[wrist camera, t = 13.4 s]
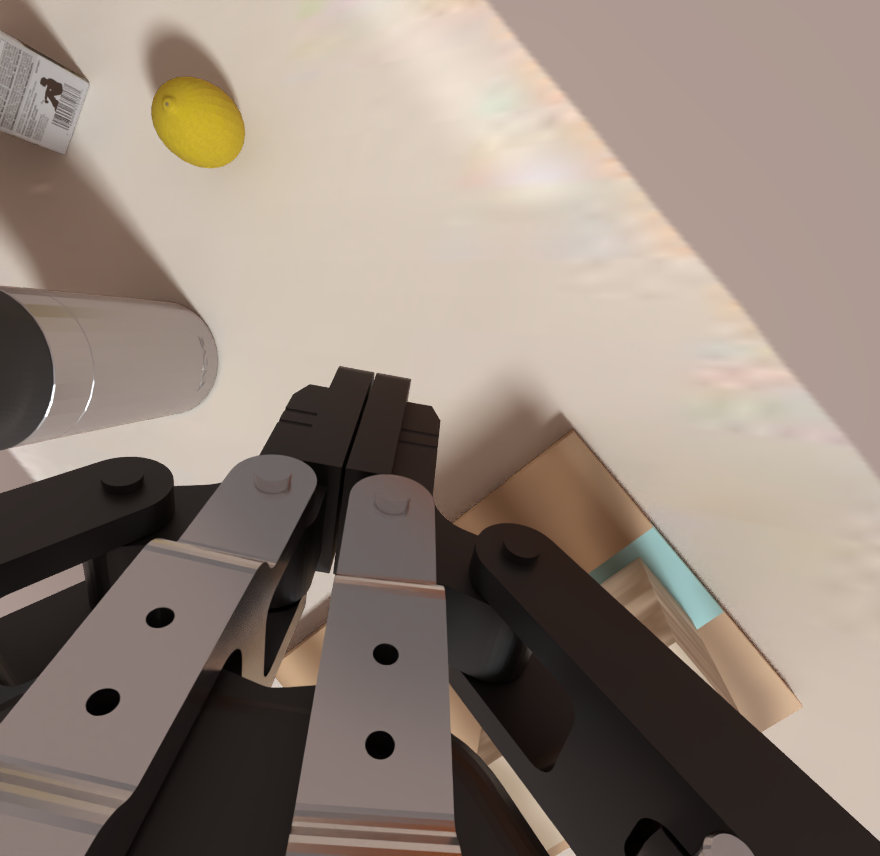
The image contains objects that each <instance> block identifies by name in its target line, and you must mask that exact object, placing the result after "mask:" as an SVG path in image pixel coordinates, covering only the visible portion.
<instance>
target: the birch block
mask: <svg viewBox="0 0 880 856" xmlns="http://www.w3.org/2000/svg"><path fill="white" fill-rule="evenodd" d="M600 585H601V586H602V587H603V588H604V589H605V590H606V591H607V592H609V593H610V594H611V595H612V596H613V597H614V598H615V599H616V600H617V601H618V602H619V603H621V604H622V605H623V606H624V607H625V608H626V609H627V610H628V611H629V612H630V613H631V614H633V615H634V616H635V617H636V618H637V619H638V620H639V621H640V622H641V623H642V624H643V625H645V626H646V627H647V628H648V629H649V630H650V631H651V632H652V633H653V634H654V635H655V636H656V637H658V638H659V639H660V640H661V641H662V642H663V643H664V644H665V645H666V646H667V647H668V648H670V649H671V650H672V651H673V652H674V653H675V654H676V655H677V656H678V657H679V658H680V659H682V660H683V661H684V662H685V663H686V664H687V665H688V666H689V667H690V668H691V669H692V670H694V671H695V672H696V673H697V674H698V675H699V676H700V677H701V678H702V679H703V680H704V681H705V682H707V683H708V684H709V685H710V686H711V687H712V688H713V689H714V690H715V691H716V692H717V693H719V694H720V695H721V696H722V697H723V698H724V699H725V700H726V701H727V702H728V703H729V704H731V705H732V706H733V707H734V708H735V709H736V710H737V711H738V712H739V710H738V708H737V706H736V704H735V702H734V700H733V698H732V697H731V695H730V693H729V691H728V689H727V687H726V685H725V683H724V681H723V679H722V677H721V675H720V673H719V671H718V669H717V668H716V666H715V664H714V662H713V660H712V658H711V656H710V654H709V652H708V650H707V648H706V646H705V644H704V642H703V640H702V639H701V637H700V635H699V633H698V631H697V629H696V627H695V625H694V623H693V621H692V619H691V618H690V617H689V616H688V615H687V613H686V612H685V611H684V610H683V609H682V607H681V606H680V605H679V604H678V603H677V601H676V600H675V599H674V598H673V597H672V595H671V594H670V593H669V592H668V591H667V589H666V588H665V587H664V586H663V585H662V583H661V582H660V581H659V580H658V579H657V577H656V576H655V575H654V574H653V572H652V571H651V570H650V569H649V568H648V566H647V565H646V564H645V563H644V562H643V560H642V559H641V558H640V557H638V558H637V559H636V560H634V561H633V562H631V563H630V564H628V565H627V566H626V567H624V568H623V569H621V570H620V571H618V572H617V573H616V574H614V575H613V576H611V577H610V578H609V579H607V580H606V581H604V582H603V583H601V584H600ZM739 713H740V712H739ZM477 754H478V755H479V756H480V757H481V759H482V760H483V761H484V762H485V763H486V764H487V766H488V767H489V768H490V769H491V770H492V771H493V773H494V774H495V775H496V777H497V778H498V779H499V781H500V782H501V784H502V785H503V786H504V788H505V789H506V791H507V792H508V794H509V795H510V797H511V798H512V800H513V801H514V803H515V804H516V806H517V807H518V809H519V810H520V812H521V813H522V815H523V816H524V818H525V819H526V821H527V822H528V824H529V825H530V827H531V828H532V830H533V831H534V833H535V834H536V836H537V837H538V839H539V840H540V842H541V843H542V845H543V846H544V848H545V849H546V851H547V850H548V849H550V848H552V847H553V846H555V845H557V844H558V843H560V842H562V841H563V840H565V839H564V838H563V837H562V835H561V834H560V833H559V831H558V830H557V829H556V827H555V826H554V825H553V823H552V822H551V821H550V819H549V818H548V816H547V815H546V814H545V812H544V811H543V810H542V808H541V807H540V806H539V804H538V803H537V802H536V800H535V799H534V798H533V796H532V795H531V793H530V792H529V791H528V789H527V788H526V787H525V785H524V784H523V783H522V781H521V780H520V779H519V777H518V776H517V775H516V773H515V772H514V770H513V769H512V768H511V766H510V765H509V764H508V762H507V761H506V760H505V758H504V757H503V756H502V754H501V753H500V752H499V750H498V749H497V748H496V746H495V745H494V743H493V742H492V741H491V739H490V738H489V737H488V735H487V734H486V733H485V731H484V730H483V729H482V727H481V732H480V738H479V744H478V750H477Z"/></svg>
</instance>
